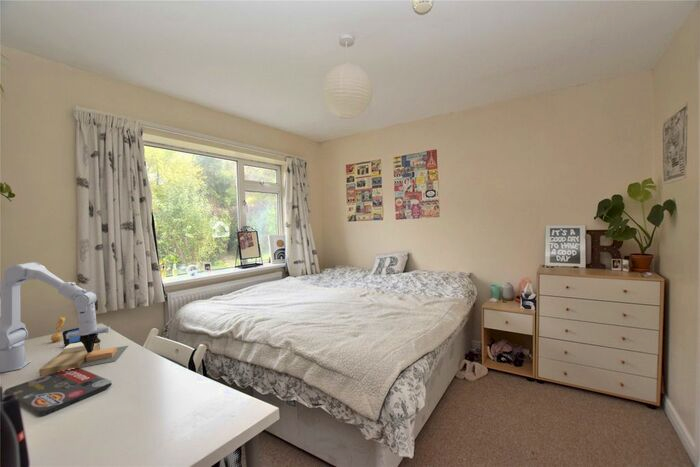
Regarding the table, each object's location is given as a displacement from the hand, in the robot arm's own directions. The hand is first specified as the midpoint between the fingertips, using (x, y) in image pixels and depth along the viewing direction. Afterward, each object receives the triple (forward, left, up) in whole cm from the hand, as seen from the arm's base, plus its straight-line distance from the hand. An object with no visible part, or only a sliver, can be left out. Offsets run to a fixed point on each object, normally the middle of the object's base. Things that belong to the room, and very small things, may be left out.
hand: (90, 351), depth 131 cm
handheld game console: (-11, +24, -4) cm, 27 cm away
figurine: (-25, +36, -3) cm, 44 cm away
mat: (+5, 0, -3) cm, 6 cm away
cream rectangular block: (-7, +9, -1) cm, 11 cm away
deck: (-7, +2, -3) cm, 8 cm away
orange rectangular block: (+4, 0, -3) cm, 5 cm away
